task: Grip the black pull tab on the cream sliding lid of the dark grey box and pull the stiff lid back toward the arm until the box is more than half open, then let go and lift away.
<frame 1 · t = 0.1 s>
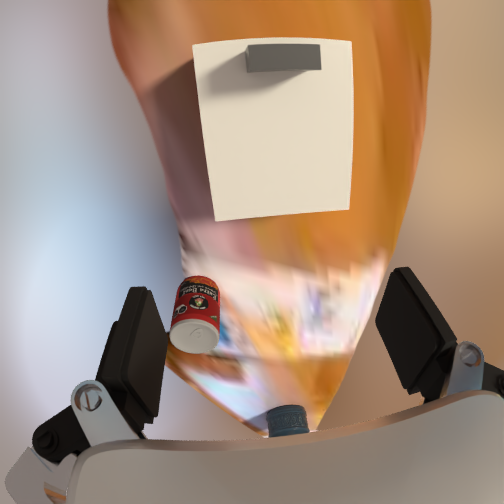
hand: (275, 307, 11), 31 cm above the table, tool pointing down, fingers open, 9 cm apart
canister: (285, 411, 84), on the table
canned food: (198, 290, 51), on the table
sliding lid: (284, 133, 26), point 11 cm above the table, slide at 0.0 cm
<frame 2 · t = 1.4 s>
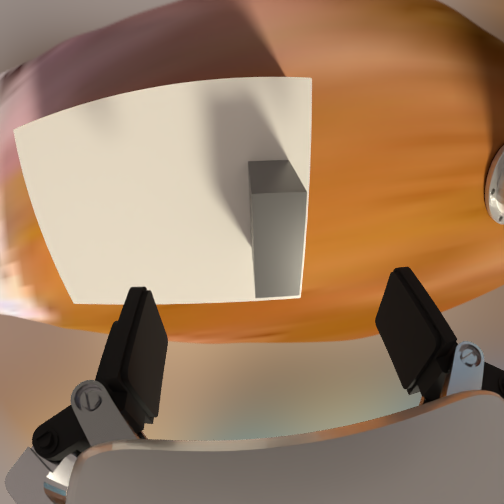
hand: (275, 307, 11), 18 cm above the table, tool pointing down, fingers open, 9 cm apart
sliding lid: (143, 230, 16), point 11 cm above the table, slide at 0.0 cm
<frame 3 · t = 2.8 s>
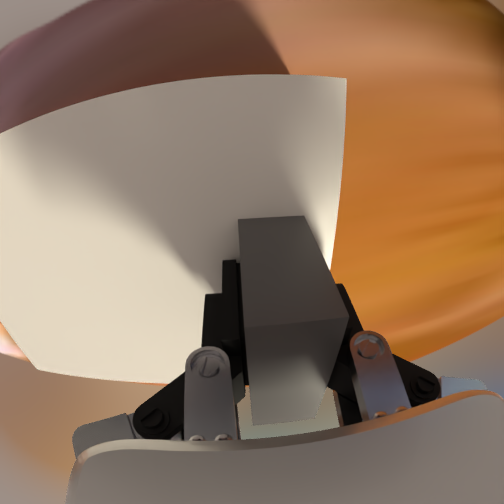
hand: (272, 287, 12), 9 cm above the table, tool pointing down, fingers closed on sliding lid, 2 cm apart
sliding lid: (89, 324, 10), point 11 cm above the table, slide at 0.0 cm, touching gripper
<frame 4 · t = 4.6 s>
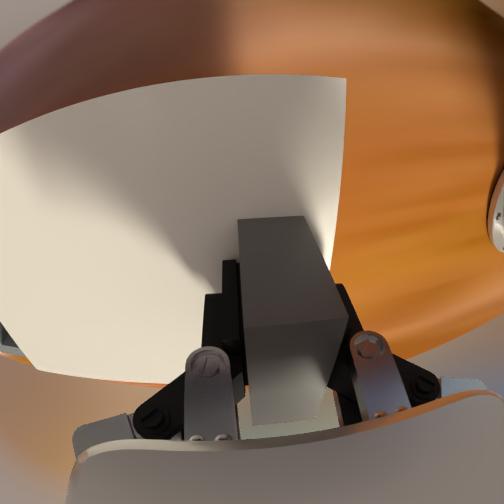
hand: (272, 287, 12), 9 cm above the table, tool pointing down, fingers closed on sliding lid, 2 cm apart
grey box: (82, 213, 19), on the table
sliding lid: (88, 324, 10), point 11 cm above the table, slide at 5.6 cm, touching gripper
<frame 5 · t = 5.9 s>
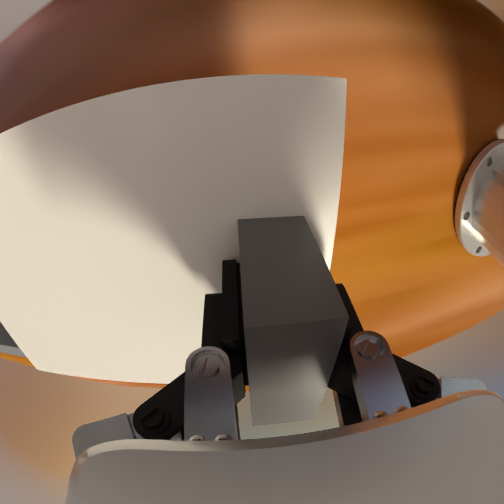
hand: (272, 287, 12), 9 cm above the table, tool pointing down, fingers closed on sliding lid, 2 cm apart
grey box: (33, 221, 19), on the table
sliding lid: (89, 324, 10), point 11 cm above the table, slide at 11.0 cm, touching gripper
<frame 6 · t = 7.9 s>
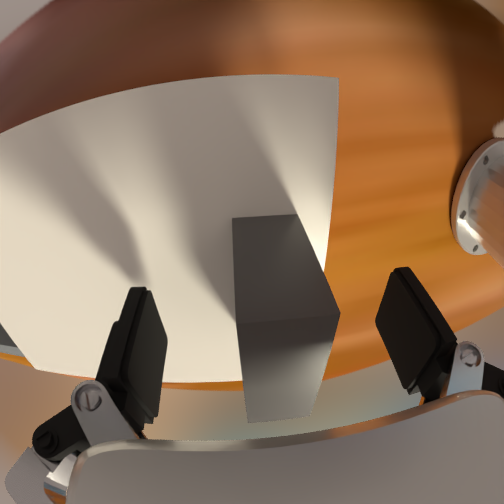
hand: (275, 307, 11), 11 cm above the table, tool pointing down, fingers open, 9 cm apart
grey box: (31, 221, 19), on the table
sliding lid: (86, 322, 10), point 11 cm above the table, slide at 11.0 cm
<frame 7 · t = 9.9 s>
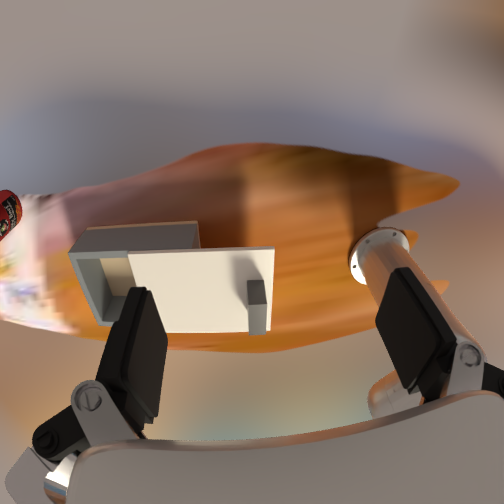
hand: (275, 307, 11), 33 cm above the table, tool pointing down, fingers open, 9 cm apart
canned food: (10, 205, 40), on the table
grey box: (147, 263, 49), on the table
sliding lid: (203, 307, 40), point 11 cm above the table, slide at 11.0 cm
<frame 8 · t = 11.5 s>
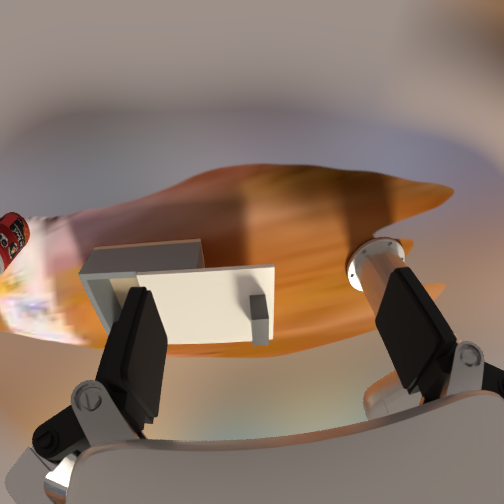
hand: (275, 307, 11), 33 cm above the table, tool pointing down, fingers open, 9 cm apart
canned food: (17, 227, 43), on the table
grey box: (154, 279, 52), on the table
sliding lid: (209, 321, 43), point 11 cm above the table, slide at 11.0 cm
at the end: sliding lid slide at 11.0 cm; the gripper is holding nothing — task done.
